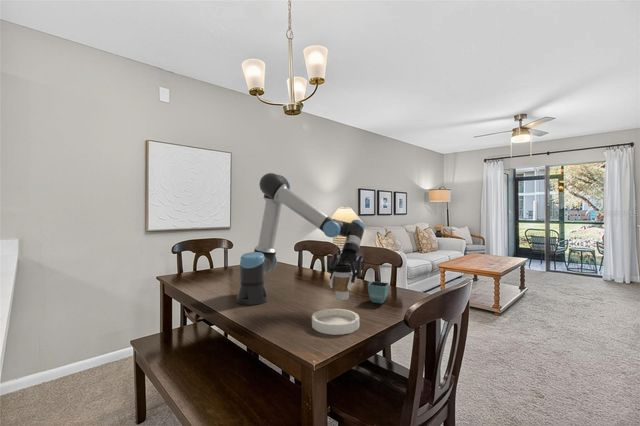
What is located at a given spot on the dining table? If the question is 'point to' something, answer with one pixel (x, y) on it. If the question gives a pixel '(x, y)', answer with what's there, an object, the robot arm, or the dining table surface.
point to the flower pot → (378, 291)
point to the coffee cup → (341, 281)
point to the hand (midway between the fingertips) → (339, 287)
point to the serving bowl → (335, 321)
